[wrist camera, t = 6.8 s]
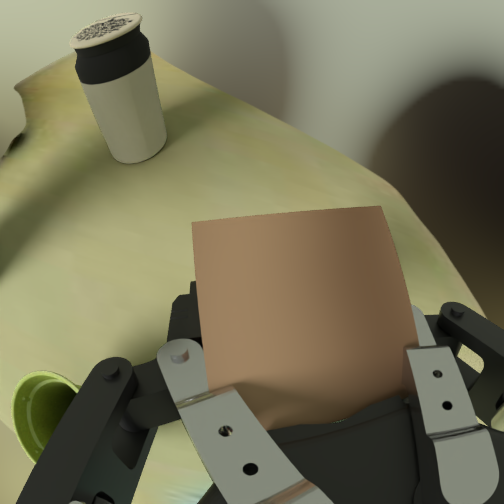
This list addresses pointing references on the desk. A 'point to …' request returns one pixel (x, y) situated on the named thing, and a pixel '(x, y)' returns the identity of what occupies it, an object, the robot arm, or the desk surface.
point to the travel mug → (121, 86)
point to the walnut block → (303, 312)
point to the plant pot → (40, 408)
